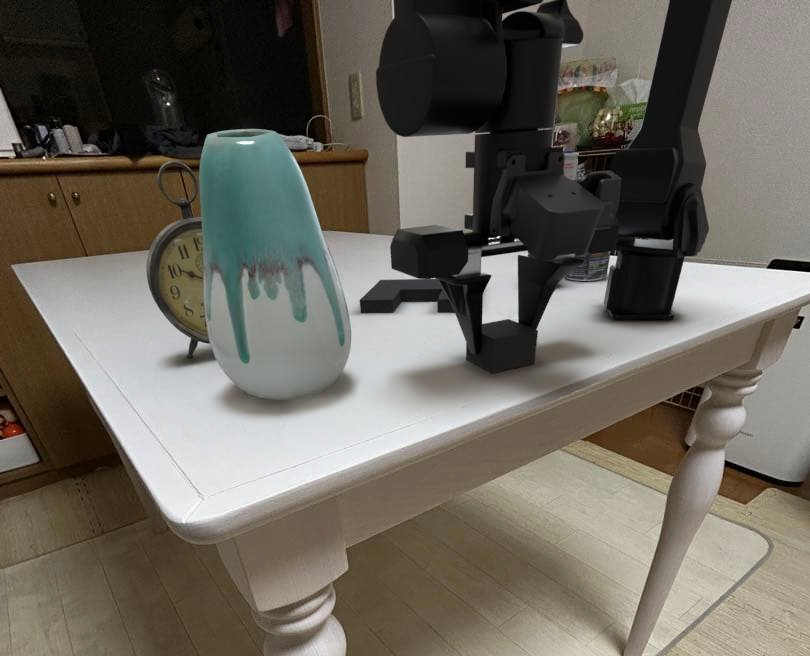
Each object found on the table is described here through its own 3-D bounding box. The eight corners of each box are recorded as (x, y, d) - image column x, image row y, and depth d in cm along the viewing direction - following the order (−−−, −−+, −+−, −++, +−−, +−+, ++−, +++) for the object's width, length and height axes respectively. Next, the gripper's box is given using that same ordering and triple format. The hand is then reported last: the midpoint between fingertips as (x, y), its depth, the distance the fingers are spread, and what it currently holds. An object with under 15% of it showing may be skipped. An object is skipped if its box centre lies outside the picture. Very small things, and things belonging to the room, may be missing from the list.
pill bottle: (601, 272, 77) (617, 180, 70) (610, 281, 72) (627, 183, 65) (560, 274, 77) (572, 182, 70) (566, 282, 72) (579, 185, 66)
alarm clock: (180, 367, 51) (108, 168, 41) (172, 353, 55) (104, 167, 45) (284, 342, 55) (241, 153, 45) (269, 330, 59) (227, 154, 48)
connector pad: (506, 350, 50) (508, 318, 48) (534, 364, 47) (538, 330, 45) (465, 359, 49) (466, 326, 47) (491, 373, 45) (493, 339, 44)
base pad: (478, 289, 72) (478, 277, 71) (471, 312, 62) (471, 298, 61) (381, 291, 74) (380, 279, 73) (360, 312, 65) (359, 299, 64)
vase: (337, 414, 40) (296, 118, 29) (200, 411, 42) (114, 132, 31) (369, 364, 49) (347, 124, 38) (255, 363, 51) (204, 134, 40)
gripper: (456, 133, 29) (453, 398, 38) (698, 119, 34) (644, 354, 44) (380, 140, 37) (394, 357, 46) (587, 128, 43) (561, 324, 52)
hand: (500, 348), depth 47 cm, fingers open, 5 cm apart
